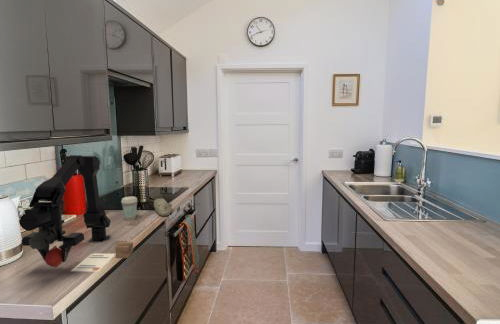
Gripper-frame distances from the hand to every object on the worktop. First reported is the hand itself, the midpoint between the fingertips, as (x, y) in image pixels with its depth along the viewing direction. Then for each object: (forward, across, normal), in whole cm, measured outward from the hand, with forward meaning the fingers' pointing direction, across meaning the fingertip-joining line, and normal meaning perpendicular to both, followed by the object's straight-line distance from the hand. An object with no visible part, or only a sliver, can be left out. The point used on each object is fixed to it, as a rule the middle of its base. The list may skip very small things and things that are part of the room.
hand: (55, 261), depth 100 cm
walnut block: (+4, +19, +13) cm, 23 cm away
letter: (+4, +10, +7) cm, 13 cm away
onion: (+2, 0, 0) cm, 2 cm away
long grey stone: (+5, +14, +78) cm, 79 cm away
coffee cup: (+5, +2, +58) cm, 58 cm away
